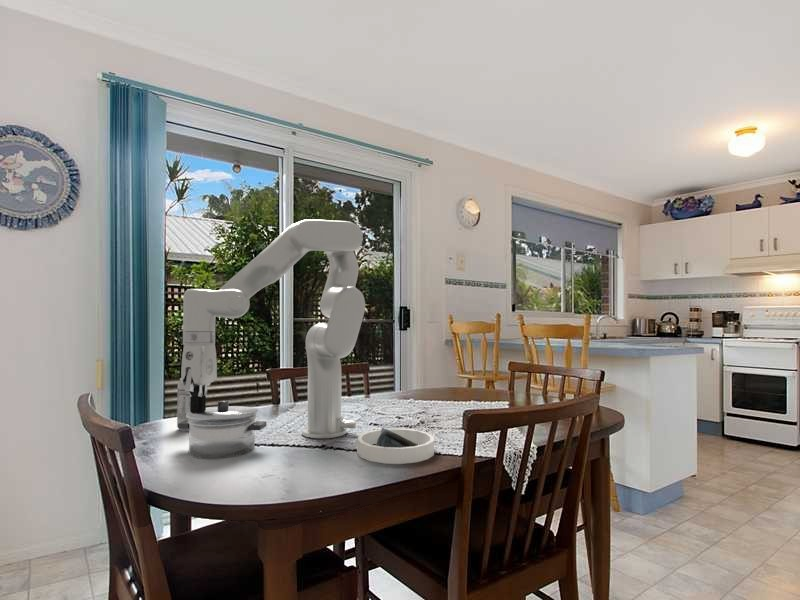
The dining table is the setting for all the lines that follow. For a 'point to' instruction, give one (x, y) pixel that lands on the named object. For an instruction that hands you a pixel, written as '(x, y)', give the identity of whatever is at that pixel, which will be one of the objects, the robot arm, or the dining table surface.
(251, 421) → the pot
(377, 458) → the round white tray
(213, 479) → the dining table surface
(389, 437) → the dark grey wedge
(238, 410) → the lid
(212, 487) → the dining table surface
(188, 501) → the dining table surface
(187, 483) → the dining table surface
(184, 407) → the energy drink can
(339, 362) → the robot arm
